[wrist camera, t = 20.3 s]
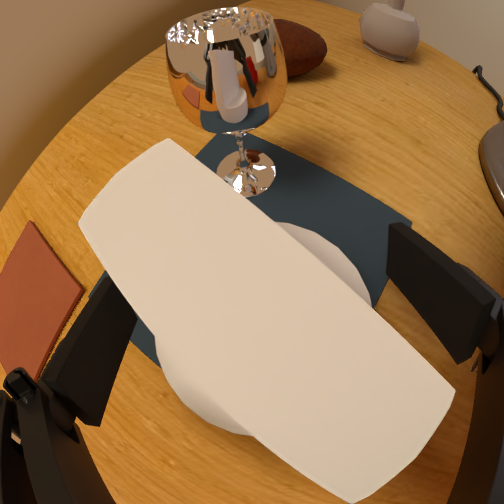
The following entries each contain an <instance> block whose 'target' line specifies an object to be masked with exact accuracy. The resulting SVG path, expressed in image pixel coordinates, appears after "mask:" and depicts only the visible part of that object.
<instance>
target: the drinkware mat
mask: <svg viewBox="0 0 504 504" xmlns="http://www.w3.org/2000/svg"><path fill="white" fill-rule="evenodd" d="M245 149H254V150H258V151H261V152H263V153H265V154H266V155H268V156H269V157H270V158H271V159H272V161H273V162H274V165H275V168H276V176H275V180H274V182H273V184H272V185H271V186H270V188H268V189H267V190H266V191H265V192H263V193H262V194H260V195H257V196H254V197H250V198H246V199H247V200H249V201H250V202H251V203H252V204H254V205H255V206H256V207H257V208H258V209H260V210H261V211H262V212H263V213H264V214H266V215H267V216H268V217H269V218H270V219H272V220H273V221H274V222H281V223H290V224H293V225H296V226H298V227H301V228H304V229H307V230H310V231H313V232H315V233H317V234H318V235H320V236H321V237H323V238H324V239H326V240H327V241H329V242H330V243H332V244H333V245H335V246H336V247H338V248H339V249H340V250H341V251H342V253H343V254H344V255H345V256H346V257H347V258H348V259H349V260H350V262H351V263H352V264H353V265H354V266H355V267H356V268H357V270H358V272H359V274H360V276H361V278H362V280H363V282H364V284H365V286H366V288H367V290H368V292H369V295H370V300H371V305H372V308H373V309H374V307H375V305H376V303H377V301H378V299H379V297H380V295H381V293H382V291H383V289H384V287H385V285H386V283H387V281H388V279H389V277H388V276H387V275H386V265H387V250H388V227H389V224H392V223H397V222H403V223H404V224H405V225H407V226H408V227H411V225H412V221H410V220H409V219H407V218H406V217H404V216H403V215H401V214H400V213H398V212H397V211H395V210H393V209H392V208H390V207H389V206H387V205H386V204H384V203H382V202H381V201H379V200H378V199H376V198H374V197H373V196H371V195H369V194H368V193H366V192H364V191H363V190H361V189H359V188H358V187H356V186H354V185H352V184H351V183H349V182H347V181H345V180H343V179H342V178H340V177H338V176H336V175H334V174H333V173H331V172H329V171H327V170H325V169H323V168H321V167H319V166H317V165H316V164H314V163H312V162H310V161H308V160H306V159H304V158H302V157H300V156H298V155H296V154H293V153H291V152H289V151H287V150H285V149H283V148H281V147H279V146H277V145H274V144H272V143H270V142H268V141H265V140H263V139H261V138H259V137H256V136H254V135H252V134H249V133H247V132H246V137H245ZM235 151H238V146H237V144H236V142H235V140H234V139H233V138H232V136H231V134H216V135H215V136H214V137H213V138H212V139H211V140H210V141H209V143H208V144H207V145H206V146H205V147H204V148H203V149H202V150H201V151H200V152H199V153H198V154H197V155H196V156H195V158H196V159H197V160H199V161H200V162H201V163H202V164H204V165H205V166H206V167H208V168H209V169H210V170H211V171H213V172H214V173H215V174H216V171H217V168H218V165H219V164H220V162H221V161H222V160H223V159H224V158H225V157H226V156H227V155H229V154H231V153H233V152H235ZM108 276H110V275H109V274H108V272H107V271H106V270H105V271H104V273H103V274H102V276H101V278H100V279H99V281H98V282H97V284H96V285H95V287H94V288H93V290H92V291H91V293H90V295H89V296H88V297H89V299H90V298H91V296H92V295H93V293H94V292H95V290H96V289H97V288H98V286H99V285H100V283H101V282H102V280H103V279H104V278H105V277H108ZM133 310H134V309H133ZM134 312H135V310H134ZM135 314H136V316H137V318H138V320H137V323H136V325H135V328H134V330H133V333H132V335H131V338H130V341H131V342H132V343H133V344H134V345H135V346H137V347H138V348H139V349H140V350H141V351H142V352H143V353H144V354H145V355H146V356H148V357H149V358H150V359H151V360H152V361H153V362H154V363H156V364H157V365H158V366H159V367H160V368H161V369H162V367H161V365H160V362H159V359H158V356H157V353H156V343H155V336H154V335H153V333H152V332H151V331H150V330H149V328H148V327H147V326H146V325H145V323H144V322H143V321H142V320H141V318H140V317H139V316H138V314H137V313H136V312H135Z"/></svg>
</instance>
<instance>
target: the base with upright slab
mask: <svg viewBox="0 0 504 504" xmlns="http://www.w3.org/2000/svg"><path fill="white" fill-rule="evenodd" d="M78 225H79V227H80V229H81V231H82V232H83V234H84V236H85V237H86V239H87V241H88V242H89V244H90V246H91V247H92V249H93V251H94V252H95V254H96V255H97V257H98V259H99V260H100V262H101V263H102V265H103V266H104V268H105V269H106V271H107V272H108V274H109V275H110V277H111V278H112V280H113V281H114V283H115V284H116V286H117V287H118V289H119V290H120V291H121V293H122V294H123V296H124V297H125V298H126V300H127V301H128V302H129V304H130V305H131V306H132V308H133V309H134V310H135V312H136V313H137V314H138V316H139V317H140V318H141V320H142V321H143V322H144V323H145V325H146V326H147V327H148V328H149V330H150V331H151V332H152V333H153V335H154V336H155V343H156V353H157V356H158V359H159V362H160V365H161V367H162V370H163V372H164V375H165V377H166V380H167V382H168V383H169V384H170V386H171V387H172V389H173V390H174V391H175V393H176V394H177V395H178V397H179V398H180V399H181V401H182V402H183V403H184V404H185V405H186V406H187V407H188V408H190V409H191V410H192V411H193V412H195V413H196V414H197V415H198V416H200V417H201V418H202V419H204V420H205V421H206V422H208V423H210V424H213V425H215V426H217V427H220V428H222V429H224V430H227V431H229V432H232V433H235V434H241V435H249V436H254V437H255V438H256V439H257V440H258V441H260V442H261V443H262V444H263V445H264V446H266V447H267V448H268V449H269V450H271V451H272V452H273V453H275V454H276V455H277V456H278V457H280V458H281V459H282V460H284V461H285V462H286V463H288V464H289V465H290V466H292V467H293V468H295V469H296V470H297V471H299V472H300V473H302V474H303V475H305V476H306V477H308V478H309V479H311V480H312V481H314V482H315V483H317V484H318V485H320V486H321V487H323V488H324V489H326V490H328V491H329V492H331V493H333V494H334V495H336V496H338V497H339V498H341V499H343V500H344V501H346V502H348V503H350V504H354V503H356V502H358V501H360V500H362V499H364V498H366V497H368V496H370V495H371V494H373V493H374V492H375V491H377V490H378V489H379V488H381V487H382V486H383V485H385V484H386V483H387V482H388V481H390V480H391V479H392V478H393V477H395V476H396V475H397V474H398V473H399V472H400V471H402V470H403V469H404V468H405V467H406V466H407V465H408V464H410V463H411V462H412V461H413V460H414V459H415V458H416V457H417V456H418V454H419V453H420V452H421V450H422V449H423V448H424V446H425V445H426V443H427V442H428V441H429V439H430V438H431V436H432V435H433V433H434V432H435V430H436V429H437V427H438V426H439V424H440V423H441V421H442V420H443V418H444V416H445V415H446V413H447V411H448V410H449V408H450V405H451V403H452V400H453V397H454V394H455V392H456V390H455V389H454V388H453V387H452V386H451V385H450V384H449V383H448V382H447V381H446V380H445V379H444V378H443V377H442V376H441V375H440V374H439V373H438V372H437V371H436V370H435V369H434V368H433V367H432V366H431V365H430V364H429V363H428V362H427V361H426V360H425V359H424V358H423V357H422V356H421V355H420V354H419V353H418V352H417V351H416V350H415V349H414V348H413V347H412V346H411V345H410V344H409V343H408V342H407V341H406V340H405V339H404V338H403V337H402V336H401V335H400V334H399V333H398V332H397V331H396V330H395V329H394V328H393V327H392V326H391V325H390V324H388V323H387V322H386V321H385V320H384V319H383V318H382V317H381V316H380V315H379V314H378V313H377V312H376V311H375V310H374V309H373V308H372V305H371V300H370V295H369V292H368V290H367V288H366V286H365V284H364V282H363V280H362V278H361V276H360V274H359V272H358V270H357V268H356V267H355V266H354V265H353V264H352V263H351V262H350V260H349V259H348V258H347V257H346V256H345V255H344V254H343V253H342V251H341V250H340V249H339V248H338V247H336V246H335V245H333V244H332V243H330V242H329V241H327V240H326V239H324V238H323V237H321V236H320V235H318V234H317V233H315V232H313V231H310V230H307V229H304V228H301V227H298V226H296V225H293V224H290V223H281V222H274V221H273V220H272V219H270V218H269V217H268V216H267V215H266V214H264V213H263V212H262V211H261V210H260V209H258V208H257V207H256V206H255V205H254V204H252V203H251V202H250V201H249V200H247V199H246V198H245V197H244V196H243V195H241V194H240V193H239V192H238V191H236V190H235V189H234V188H233V187H231V186H230V185H229V184H228V183H226V182H225V181H224V180H223V179H221V178H220V177H219V176H218V175H216V174H215V173H214V172H213V171H211V170H210V169H209V168H208V167H206V166H205V165H204V164H202V163H201V162H200V161H199V160H197V159H196V158H195V157H193V156H192V155H191V154H190V153H188V152H187V151H186V150H184V149H183V148H182V147H180V146H179V145H178V144H176V143H175V142H174V141H172V140H171V139H170V138H168V139H166V140H164V141H161V142H159V143H157V144H155V145H154V146H152V147H151V148H149V149H148V150H147V151H145V152H144V153H142V154H141V155H140V156H138V157H137V158H136V159H134V160H133V161H131V162H130V163H129V164H128V165H126V166H125V167H124V168H122V169H121V170H120V171H118V172H117V173H116V174H115V175H114V176H113V177H112V179H111V180H110V181H109V182H108V183H107V184H106V185H105V187H104V188H103V189H102V190H101V191H100V192H99V194H98V195H97V196H96V197H95V198H94V200H93V201H92V202H91V203H90V205H89V206H88V207H87V208H86V210H85V211H84V213H83V215H82V217H81V219H80V220H79V222H78Z"/></svg>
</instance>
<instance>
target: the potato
mask: <svg viewBox="0 0 504 504" xmlns="http://www.w3.org/2000/svg"><path fill="white" fill-rule="evenodd" d="M274 22H275V24H276V27H277V30H278V33H279V36H280V39H281V42H282V45H283V49H284V54H285V59H286V64H287V76H296V75H301V74H303V73H306V72H309V71H311V70H312V69H314V68H316V67H318V66H319V65H320V64H321V63H322V61H323V60H324V58H325V56H326V53H327V46H326V43H325V41H324V39H323V38H322V37H321V36H320V35H319V34H317V33H316V32H314V31H313V30H311V29H309V28H307V27H305V26H303V25H300V24H298V23H295V22H292V21H288V20H283V19H274Z"/></svg>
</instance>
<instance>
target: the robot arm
mask: <svg viewBox="0 0 504 504" xmlns="http://www.w3.org/2000/svg"><path fill="white" fill-rule="evenodd" d="M472 73H474V74H476V73H477V74H478V77H479V79H480V80H481V82H482V83H483V84H484V85H485V86H486V87H487V88H488V89H489V90H490V91H491V92H492V93H493V94H494V96H495V97H496V98H497V100H498V102H499V103H498V105H497V110H498V113H499V115H500V116H501V118H502V119H503V121H502V122H500V123H498V124H496V125H494V126H493V127H492V128H490V129H489V130H488V131H487V132H486V134H485V135H484V136H483V138H482V139H481V141H480V144H479V156H480V162H481V165H482V169H483V172H484V175H485V178H486V180H487V183H488V185H489V187H490V190H491V192H492V194H493V196H494V198H495V200H496V202H497V204H498V206H499V207H500V209H501V211H502V213H503V214H504V112H503V111H502V106H503V101H502V99H501V97H500V95H499V94H498V93H497V92H496V91H495V90H494V89H493V88H492V87H491V86H490V85H489V84H488V83H487V81H486V80H485V79H484V78H483V77H482V67H481V66H480V65H479V66H477V67H475V68H474V69H473V71H472ZM386 275H387V276H388V277H389V278H390V279H391V280H392V281H393V283H394V284H395V285H396V286H397V287H398V288H399V290H400V291H401V292H402V293H403V294H404V296H405V297H406V298H407V299H408V300H409V302H410V303H411V304H412V305H413V306H414V308H415V309H416V310H417V311H418V313H419V314H420V315H421V316H422V318H423V319H424V320H425V322H426V323H427V324H428V325H429V327H430V328H431V329H432V331H433V332H434V333H435V335H436V336H437V337H438V339H439V340H440V341H441V343H442V344H443V345H444V347H445V348H446V349H447V351H448V352H449V354H450V355H451V356H452V358H453V359H454V361H455V362H456V364H457V365H458V364H460V363H462V362H464V361H466V360H467V359H469V358H471V357H472V355H473V353H474V351H475V349H476V347H477V346H478V348H479V349H480V350H481V352H480V354H479V356H478V357H477V359H476V361H475V363H474V365H473V367H472V370H471V372H473V371H474V370H475V368H476V366H477V365H478V368H477V381H476V391H475V399H474V406H473V412H472V418H471V423H470V428H469V433H468V438H467V442H466V446H465V450H464V454H463V457H462V461H461V464H460V468H459V471H458V474H457V477H456V480H455V483H454V486H453V488H452V491H451V494H450V496H449V499H448V501H447V504H504V299H503V298H502V297H501V296H500V295H499V294H497V293H496V292H495V291H494V290H493V289H492V288H491V287H490V286H489V285H488V284H486V283H485V282H484V281H482V279H481V278H480V277H478V276H476V275H475V273H474V272H473V271H471V270H470V269H469V268H468V267H466V266H464V265H461V264H459V263H456V262H454V261H453V260H452V259H451V258H450V257H448V256H447V255H446V254H444V253H443V252H442V251H441V250H439V249H438V248H437V247H435V246H434V245H433V244H432V243H430V242H429V241H428V240H426V239H425V238H424V237H422V236H421V235H419V234H418V233H417V232H415V231H414V230H412V229H411V228H410V227H408V226H407V225H405V224H404V223H403V222H397V223H392V224H389V227H388V250H387V265H386ZM137 320H138V318H137V316H136V314H135V312H134V310H133V308H132V306H131V305H130V304H129V302H128V301H127V300H126V298H125V297H124V296H123V294H122V293H121V291H120V290H119V289H118V287H117V286H116V284H115V283H114V281H113V280H112V278H111V277H110V276H108V277H105V278H104V279H103V280H102V282H101V283H100V285H99V286H98V288H97V289H96V290H95V292H94V293H93V295H92V296H91V298H90V299H89V301H88V302H87V304H86V305H85V307H84V308H83V310H82V311H81V313H80V314H79V316H78V317H77V319H76V320H75V322H74V324H73V325H72V327H71V328H70V330H69V332H68V333H67V335H66V337H65V338H64V339H63V340H62V341H61V342H60V343H59V345H58V346H57V348H56V350H55V353H53V355H52V357H51V360H49V362H48V364H47V366H46V367H45V369H44V371H43V373H42V375H41V377H40V379H39V381H38V383H36V382H35V381H34V380H33V378H32V377H31V376H30V375H29V374H28V372H27V371H26V370H25V369H24V368H23V367H17V368H15V369H13V370H12V371H11V372H10V373H9V374H8V375H7V376H6V378H5V380H4V383H3V387H4V388H5V389H6V391H7V392H8V393H9V394H10V395H11V396H12V397H13V398H11V397H10V396H9V395H8V394H7V393H6V392H5V391H4V390H0V504H116V503H115V501H114V500H113V498H112V496H111V494H110V493H109V491H108V489H107V487H106V485H105V484H104V482H103V480H102V478H101V476H100V474H99V472H98V470H97V468H96V466H95V464H94V462H93V459H92V457H91V455H90V453H89V450H88V448H87V446H86V443H85V441H84V439H83V436H82V433H81V431H80V428H79V427H78V425H77V424H76V423H75V419H76V416H77V417H78V418H79V419H80V420H81V421H82V422H83V423H84V424H85V425H91V426H98V427H100V425H101V421H102V418H103V415H104V411H105V408H106V405H107V402H108V399H109V396H110V393H111V390H112V387H113V384H114V381H115V378H116V375H117V372H118V370H119V367H120V364H121V361H122V359H123V356H124V353H125V351H126V348H127V345H128V343H129V340H130V338H131V335H132V333H133V330H134V328H135V325H136V323H137ZM11 433H14V434H15V435H16V436H17V437H18V438H19V439H21V443H20V444H18V443H17V442H16V441H14V440H13V439H12V438H11Z"/></svg>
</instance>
